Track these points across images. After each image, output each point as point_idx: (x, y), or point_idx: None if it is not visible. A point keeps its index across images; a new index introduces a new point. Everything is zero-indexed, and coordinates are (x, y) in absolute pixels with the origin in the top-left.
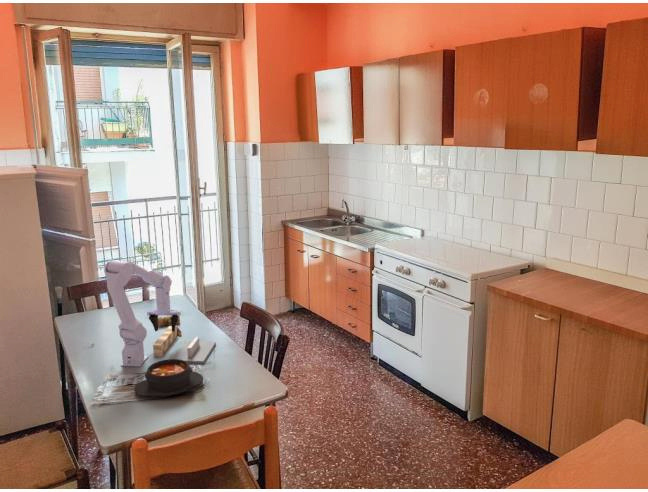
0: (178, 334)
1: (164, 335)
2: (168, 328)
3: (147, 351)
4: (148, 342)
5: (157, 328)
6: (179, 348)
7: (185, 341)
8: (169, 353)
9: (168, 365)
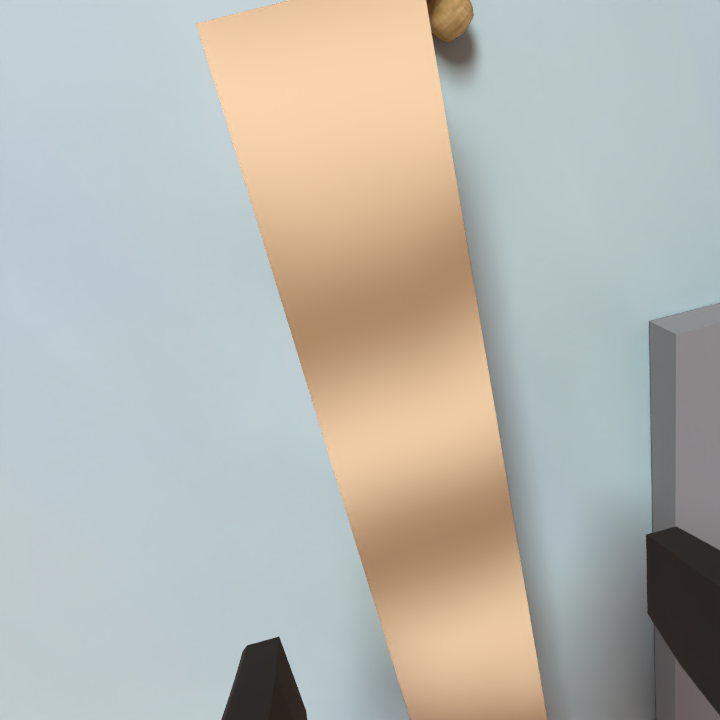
0: None
1: (432, 565)
2: (296, 210)
3: None
4: (67, 452)
5: (289, 703)
6: None
7: (688, 339)
8: (562, 617)
9: None
